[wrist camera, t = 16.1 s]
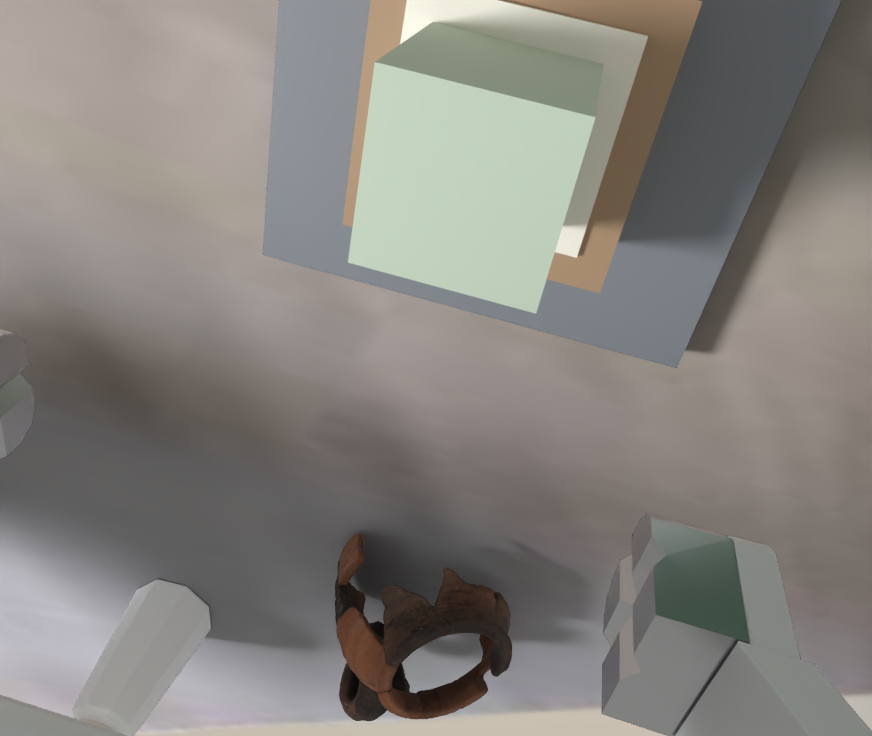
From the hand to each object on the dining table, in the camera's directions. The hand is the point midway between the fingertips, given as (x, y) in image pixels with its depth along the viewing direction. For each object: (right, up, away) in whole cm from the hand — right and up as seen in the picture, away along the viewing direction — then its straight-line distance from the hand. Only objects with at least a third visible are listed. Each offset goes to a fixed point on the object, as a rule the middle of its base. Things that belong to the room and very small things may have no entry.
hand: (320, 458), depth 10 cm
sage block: (+3, +8, +13) cm, 16 cm away
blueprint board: (+5, +12, +18) cm, 22 cm away
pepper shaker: (-16, -14, +40) cm, 45 cm away
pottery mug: (-1, -11, +35) cm, 37 cm away
